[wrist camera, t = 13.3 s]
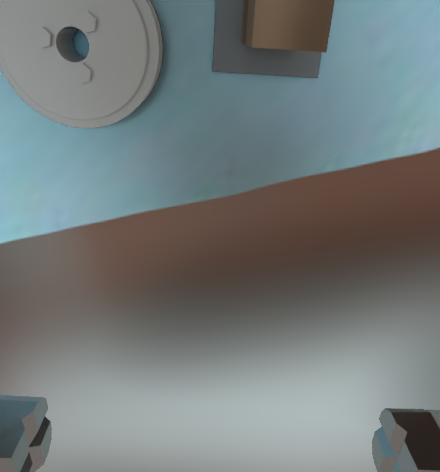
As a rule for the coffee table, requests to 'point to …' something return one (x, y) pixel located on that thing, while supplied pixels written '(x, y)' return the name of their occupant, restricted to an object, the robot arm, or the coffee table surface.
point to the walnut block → (287, 24)
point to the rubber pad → (254, 49)
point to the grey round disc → (76, 67)
